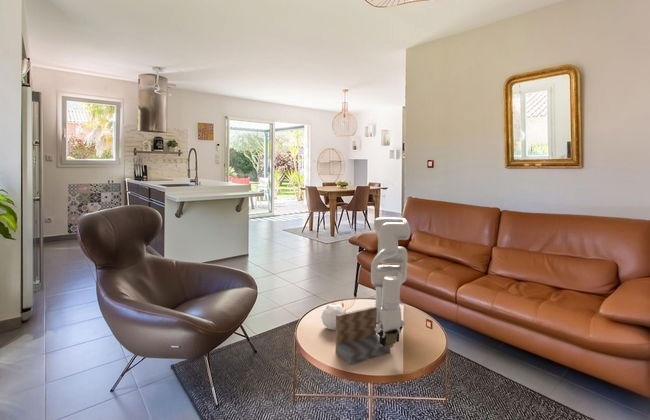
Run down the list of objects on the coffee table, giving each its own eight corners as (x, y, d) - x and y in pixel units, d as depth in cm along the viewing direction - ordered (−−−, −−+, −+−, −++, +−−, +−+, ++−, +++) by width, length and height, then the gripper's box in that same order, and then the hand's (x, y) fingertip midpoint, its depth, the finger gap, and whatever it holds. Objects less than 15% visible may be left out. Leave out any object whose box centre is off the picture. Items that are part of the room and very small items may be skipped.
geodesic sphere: (327, 327, 180) (339, 302, 184) (310, 318, 190) (322, 295, 194) (343, 337, 188) (355, 313, 192) (326, 328, 199) (338, 305, 203)
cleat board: (374, 341, 178) (375, 306, 176) (390, 353, 167) (391, 315, 165) (335, 352, 167) (335, 315, 165) (350, 365, 156) (350, 325, 154)
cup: (379, 342, 163) (379, 325, 162) (395, 341, 164) (395, 325, 163) (383, 351, 156) (383, 333, 155) (399, 350, 157) (400, 333, 155)
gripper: (400, 297, 165) (399, 334, 167) (369, 305, 156) (368, 343, 159) (411, 303, 158) (410, 341, 161) (379, 311, 150) (378, 351, 152)
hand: (389, 342), depth 160 cm, fingers closed on cup, 7 cm apart
